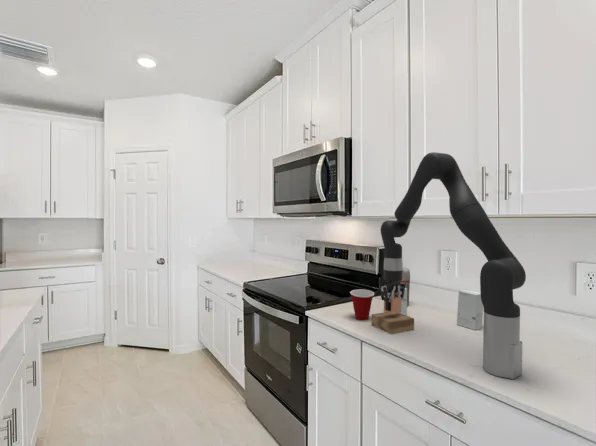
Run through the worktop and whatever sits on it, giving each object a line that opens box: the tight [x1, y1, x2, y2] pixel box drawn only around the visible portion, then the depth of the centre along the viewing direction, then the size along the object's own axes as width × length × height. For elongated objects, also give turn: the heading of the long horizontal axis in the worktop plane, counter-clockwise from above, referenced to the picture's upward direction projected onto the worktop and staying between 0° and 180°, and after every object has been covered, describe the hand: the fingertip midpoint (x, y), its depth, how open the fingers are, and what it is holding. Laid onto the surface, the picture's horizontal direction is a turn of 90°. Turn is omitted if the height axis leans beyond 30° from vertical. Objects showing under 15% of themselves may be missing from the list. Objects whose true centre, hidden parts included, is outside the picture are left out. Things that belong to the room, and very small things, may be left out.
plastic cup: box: [349, 288, 375, 321], centre depth 150 cm, size 11×11×12 cm
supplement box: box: [388, 288, 408, 316], centre depth 158 cm, size 7×7×13 cm
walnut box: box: [371, 311, 415, 335], centre depth 138 cm, size 12×12×5 cm
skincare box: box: [456, 289, 484, 331], centre depth 140 cm, size 8×6×15 cm
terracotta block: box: [383, 296, 401, 314], centre depth 138 cm, size 5×5×6 cm
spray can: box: [400, 266, 411, 307], centre depth 175 cm, size 8×8×20 cm
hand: (392, 309), depth 138 cm, fingers closed on terracotta block, 5 cm apart
